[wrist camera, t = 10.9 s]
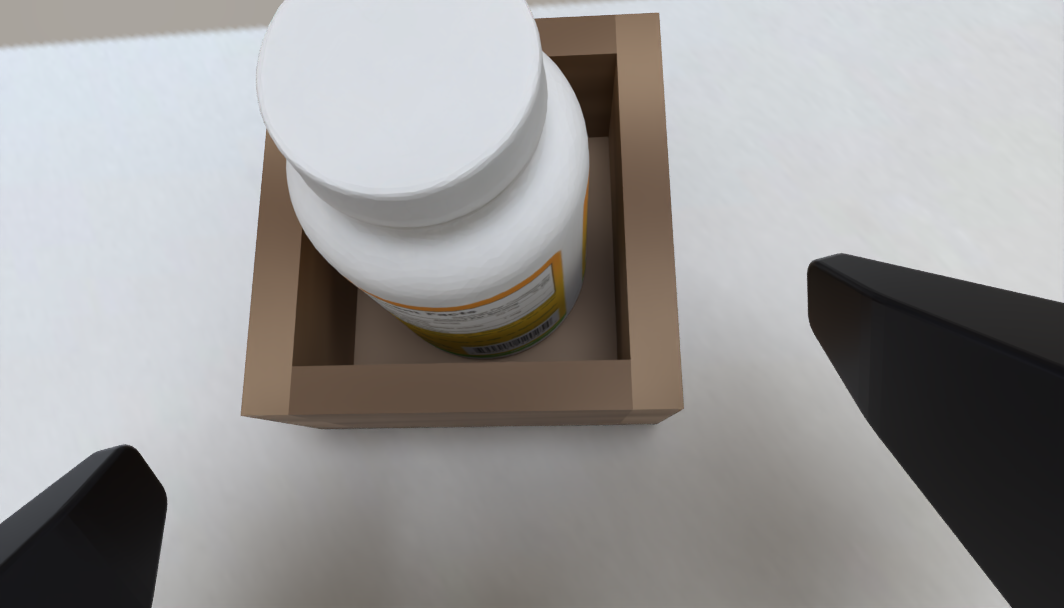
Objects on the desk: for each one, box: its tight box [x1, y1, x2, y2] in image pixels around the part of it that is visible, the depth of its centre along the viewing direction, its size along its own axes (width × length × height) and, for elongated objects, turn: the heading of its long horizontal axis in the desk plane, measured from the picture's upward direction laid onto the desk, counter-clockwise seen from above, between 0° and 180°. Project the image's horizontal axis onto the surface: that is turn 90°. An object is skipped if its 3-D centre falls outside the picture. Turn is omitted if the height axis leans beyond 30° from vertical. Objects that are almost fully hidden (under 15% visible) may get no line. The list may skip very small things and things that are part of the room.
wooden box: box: [241, 13, 684, 429], centre depth 17 cm, size 9×9×5 cm
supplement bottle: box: [256, 0, 589, 359], centre depth 14 cm, size 5×5×10 cm
